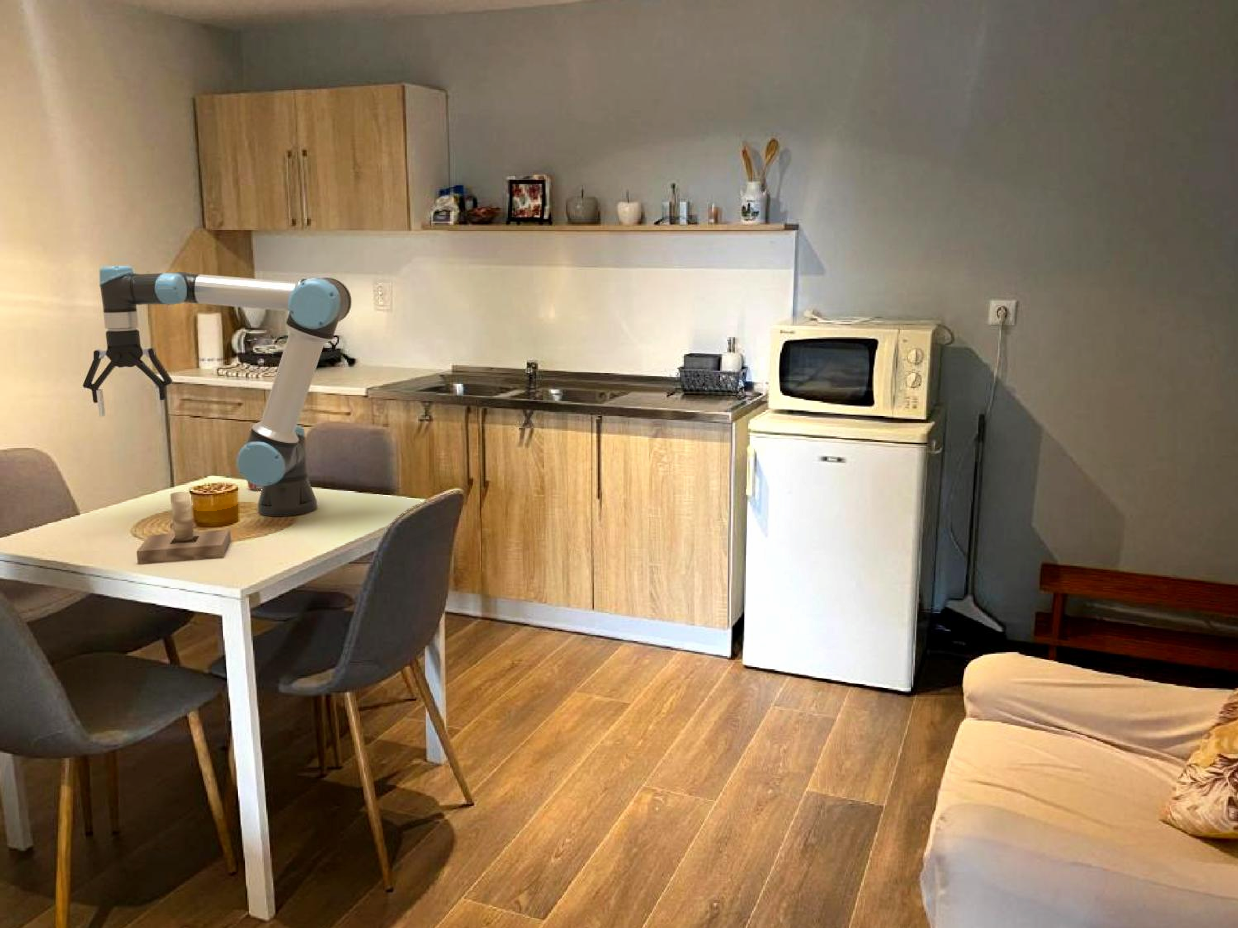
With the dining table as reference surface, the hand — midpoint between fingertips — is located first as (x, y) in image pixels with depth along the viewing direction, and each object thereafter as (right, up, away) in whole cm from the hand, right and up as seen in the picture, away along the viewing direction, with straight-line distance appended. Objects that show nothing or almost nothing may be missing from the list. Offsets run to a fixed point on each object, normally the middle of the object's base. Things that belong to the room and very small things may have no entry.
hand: (131, 414), depth 260 cm
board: (+22, -33, -20) cm, 44 cm away
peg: (+22, -33, -20) cm, 44 cm away
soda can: (+17, -20, +46) cm, 52 cm away
